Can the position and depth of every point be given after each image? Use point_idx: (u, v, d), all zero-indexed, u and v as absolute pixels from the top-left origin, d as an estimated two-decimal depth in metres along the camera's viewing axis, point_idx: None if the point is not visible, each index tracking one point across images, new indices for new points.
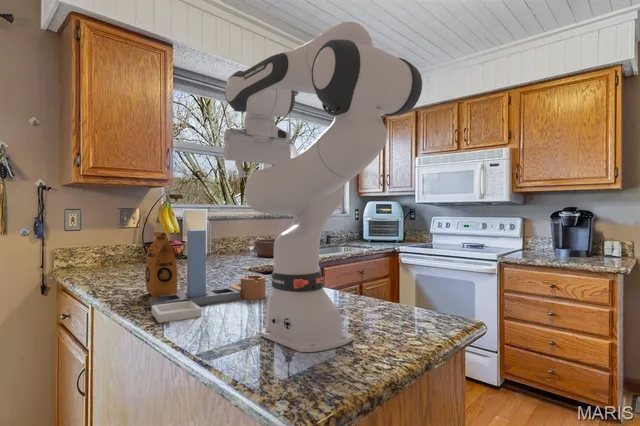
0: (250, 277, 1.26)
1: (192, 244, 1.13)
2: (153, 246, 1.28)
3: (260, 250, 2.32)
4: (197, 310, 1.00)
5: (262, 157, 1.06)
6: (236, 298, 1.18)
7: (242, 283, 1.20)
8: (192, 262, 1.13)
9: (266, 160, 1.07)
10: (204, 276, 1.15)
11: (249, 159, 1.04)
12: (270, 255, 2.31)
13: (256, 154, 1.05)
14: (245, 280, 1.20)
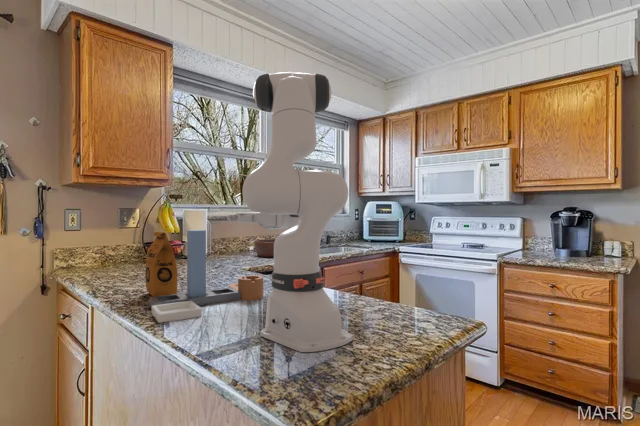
0: (248, 277, 1.25)
1: (192, 244, 1.13)
2: (153, 246, 1.28)
3: (260, 250, 2.32)
4: (197, 310, 1.00)
5: None
6: (236, 298, 1.18)
7: (239, 283, 1.20)
8: (192, 262, 1.13)
9: None
10: (204, 276, 1.15)
11: (243, 212, 1.28)
12: (270, 255, 2.31)
13: None
14: (242, 280, 1.19)
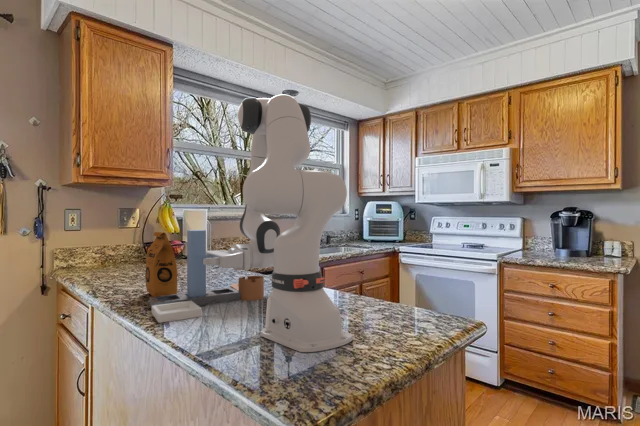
0: (249, 277, 1.25)
1: (192, 244, 1.13)
2: (153, 246, 1.28)
3: None
4: (197, 310, 1.00)
5: (218, 253, 1.19)
6: (236, 298, 1.18)
7: (239, 283, 1.20)
8: (192, 262, 1.13)
9: (216, 253, 1.17)
10: (204, 276, 1.15)
11: (211, 252, 1.22)
12: None
13: (218, 252, 1.21)
14: (242, 280, 1.19)
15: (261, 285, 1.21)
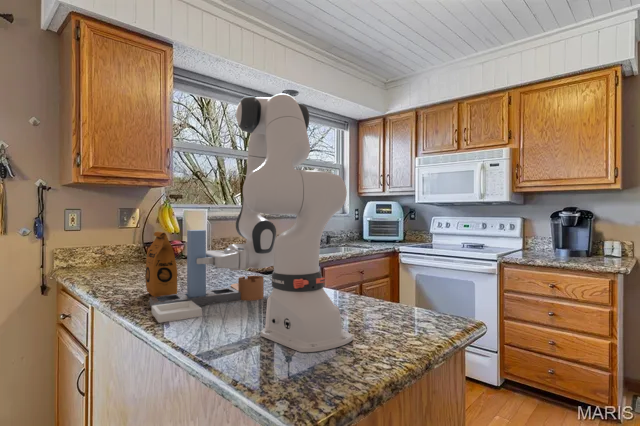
0: (249, 277, 1.25)
1: (192, 244, 1.13)
2: (153, 246, 1.28)
3: None
4: (197, 310, 1.00)
5: (213, 253, 1.18)
6: (236, 298, 1.18)
7: (239, 283, 1.20)
8: (192, 262, 1.13)
9: (212, 254, 1.17)
10: (204, 276, 1.15)
11: (206, 252, 1.21)
12: None
13: (213, 252, 1.20)
14: (242, 280, 1.19)
15: (261, 285, 1.21)
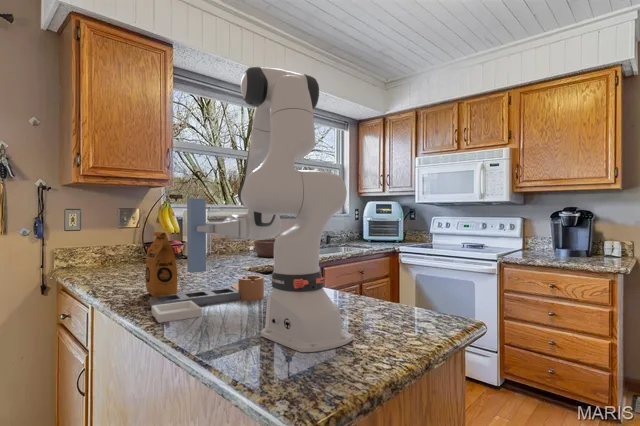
0: (249, 277, 1.25)
1: (192, 212, 1.13)
2: (153, 246, 1.28)
3: (260, 250, 2.32)
4: (197, 310, 1.00)
5: None
6: (236, 298, 1.18)
7: (239, 283, 1.20)
8: (192, 230, 1.13)
9: None
10: (204, 244, 1.15)
11: None
12: (270, 255, 2.31)
13: None
14: (241, 280, 1.19)
15: (261, 285, 1.21)
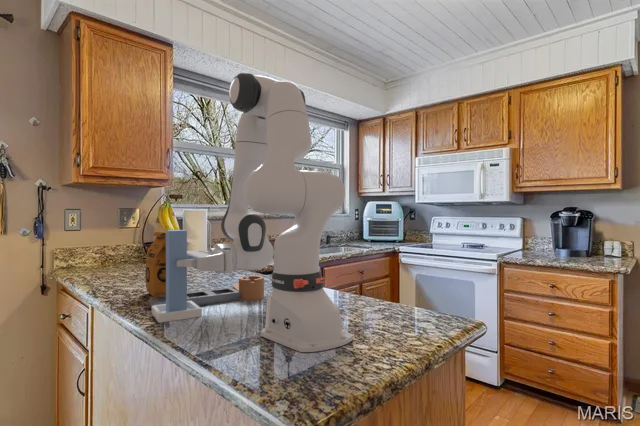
0: (250, 277, 1.25)
1: (171, 246, 0.99)
2: (153, 246, 1.28)
3: None
4: (197, 310, 1.00)
5: (196, 254, 1.04)
6: (236, 298, 1.18)
7: (239, 283, 1.20)
8: (171, 267, 0.99)
9: (194, 254, 1.03)
10: (185, 283, 1.01)
11: (189, 253, 1.07)
12: None
13: (196, 253, 1.06)
14: (241, 280, 1.19)
15: (261, 285, 1.20)
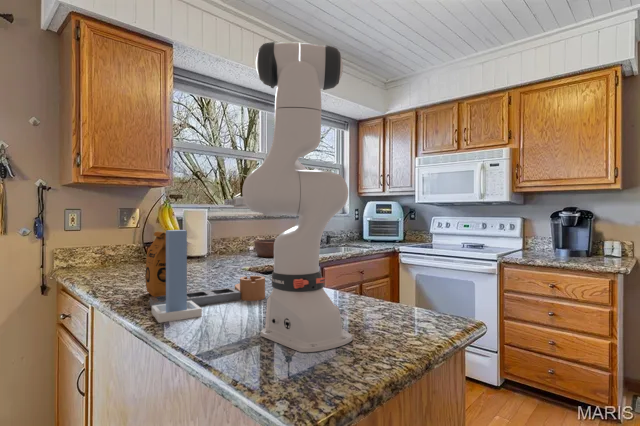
0: (251, 278, 1.25)
1: (171, 246, 0.99)
2: (153, 246, 1.28)
3: (260, 250, 2.32)
4: (197, 310, 1.00)
5: None
6: (236, 298, 1.18)
7: (240, 283, 1.20)
8: (171, 267, 0.99)
9: None
10: (185, 283, 1.01)
11: None
12: (270, 255, 2.31)
13: None
14: (242, 280, 1.19)
15: (262, 286, 1.20)
